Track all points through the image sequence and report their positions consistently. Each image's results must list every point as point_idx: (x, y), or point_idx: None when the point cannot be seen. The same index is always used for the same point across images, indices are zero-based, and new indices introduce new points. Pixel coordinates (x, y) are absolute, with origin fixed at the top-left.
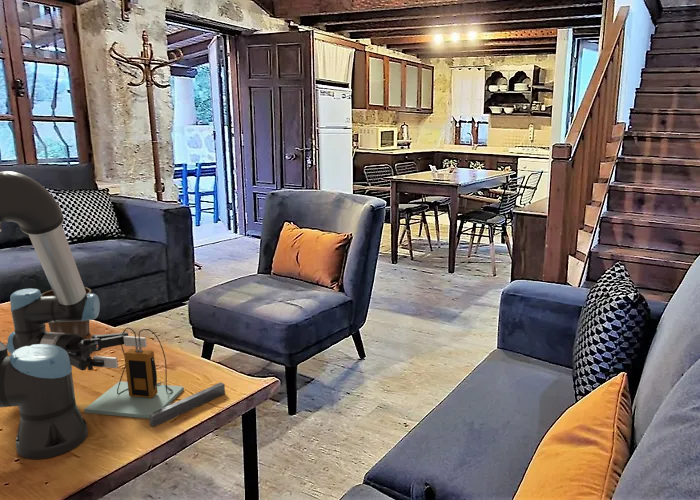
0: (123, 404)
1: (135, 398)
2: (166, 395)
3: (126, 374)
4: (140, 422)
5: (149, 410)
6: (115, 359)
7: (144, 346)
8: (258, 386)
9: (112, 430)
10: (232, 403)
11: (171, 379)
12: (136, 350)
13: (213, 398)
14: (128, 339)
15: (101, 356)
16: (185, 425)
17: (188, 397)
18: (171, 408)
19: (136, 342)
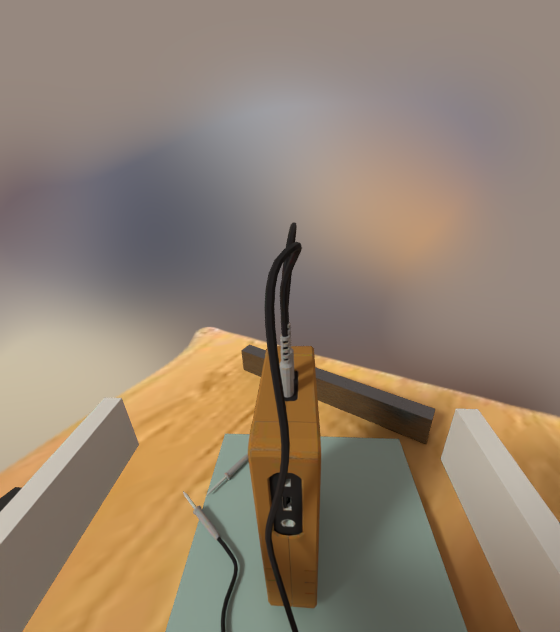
0: (385, 598)
1: (322, 564)
2: None
3: (315, 549)
4: (431, 476)
5: (380, 463)
6: (474, 414)
7: (133, 445)
8: (224, 335)
9: None
10: None
11: (137, 510)
12: (292, 383)
13: None
14: (14, 555)
15: (552, 553)
16: (386, 381)
17: (319, 376)
18: (377, 390)
19: (285, 340)
